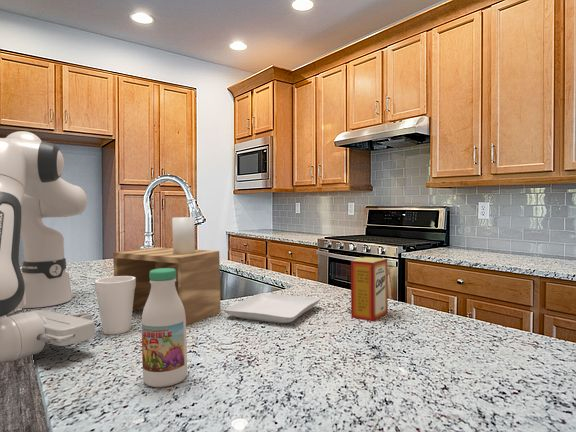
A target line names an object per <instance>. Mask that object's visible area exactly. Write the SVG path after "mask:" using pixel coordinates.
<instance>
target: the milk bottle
mask: <svg viewBox="0 0 576 432" xmlns="http://www.w3.org/2000/svg"><path fill="white" fill-rule="evenodd" d="M149 278H150V283H151V290H150V294H149V297H148V300H147V302H146V304H145V307H143V309H142V310H143V311H142V315H141V355H142V356H141V357H142V381H143V382H144V384H145V385H146V386H148V387H153V388H165V387H171V386H174V385H176V384H179V383H181V382H182V381H184V380H185V379H186V377H187V374H188V349H187V348H188V347H187V343H188V342H187V326H186V317H185V310H184V306H183V304H182V302H181V300H180V298H179V296H178V293H177V291H176V287H175V281H176V270H175V269H173V268H160V269H154V270H151V271H150V273H149Z"/></svg>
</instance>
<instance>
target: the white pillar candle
mask: <svg viewBox="0 0 576 432" xmlns="http://www.w3.org/2000/svg"><path fill="white" fill-rule="evenodd" d="M171 222H172V225H171V226H172V228H171V229H172V248H173V254H193V253H195V250H196V242H195V241H196V238H195V237H196V235H195V231H196V230H195V228H196V227H195V217H193V216H189V217H188V216H181V217H179V216H178V217H176V216H175V217H172V219H171Z"/></svg>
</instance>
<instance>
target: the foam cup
mask: <svg viewBox="0 0 576 432" xmlns="http://www.w3.org/2000/svg"><path fill="white" fill-rule="evenodd" d="M135 287H136V278H135V277H133V276H114V275H113V276H109V277H103V278H99V279H96V280H94V291H95V293H96V294H95V295H96V299H97V300H96V301H97V304H98V310H99V317H100V323H101V327H102V331H103V334H104V335H118V334H119V335H120V334H124V333H127V332H129V331H130V330H131V327H132V319H133V311H134V310H133V301H134V292H135Z"/></svg>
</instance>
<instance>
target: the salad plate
mask: <svg viewBox="0 0 576 432" xmlns="http://www.w3.org/2000/svg"><path fill="white" fill-rule="evenodd" d="M321 300H322V299H321V297H313V296H305V295H304V296H301V295H294V294H293V295H292V294H280V293H279V294H277V293H276V294H275V293H262V292H261V293H257V294H255V295H253V296H250V297H247V298H245V299H243V300H241V301H239V302H237V303H234V304H232V305H230V306H228V307H227V308H225V309H224V311H225V312H226V313H227V314H229V315H230V316H232V317H235V318H239V319H244V320H245V319H246V320H250V321H251V320H252V321H259V322H266V323H267V322H268V323H273V324H274V323H275V324H288V323H292V322H294V321H295V320H296V319H297V318H299V317H300V316H302V315H303V314H305V313H306V312H308V311H309V310H311V309H312V308H314V307H315V306H317V305H318V304H319V302H320V301H321Z"/></svg>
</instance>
